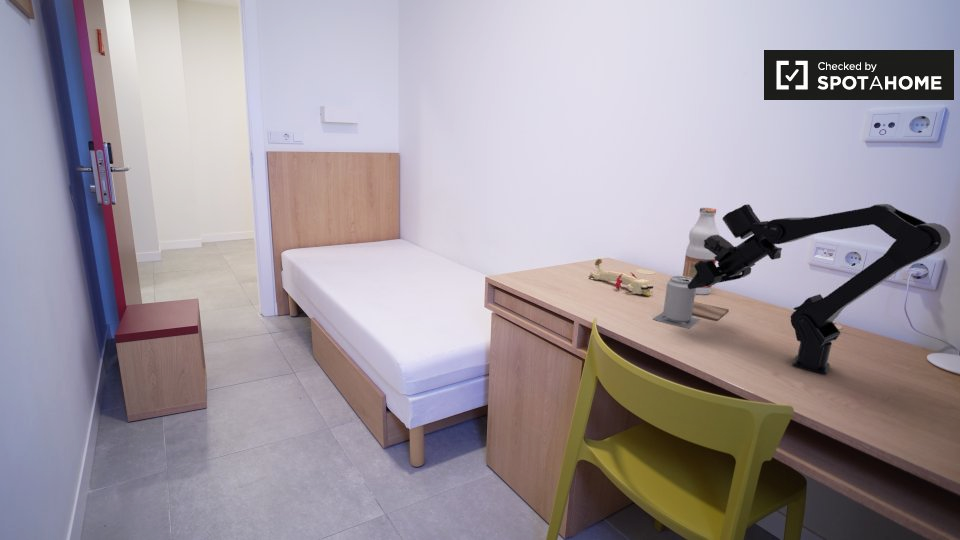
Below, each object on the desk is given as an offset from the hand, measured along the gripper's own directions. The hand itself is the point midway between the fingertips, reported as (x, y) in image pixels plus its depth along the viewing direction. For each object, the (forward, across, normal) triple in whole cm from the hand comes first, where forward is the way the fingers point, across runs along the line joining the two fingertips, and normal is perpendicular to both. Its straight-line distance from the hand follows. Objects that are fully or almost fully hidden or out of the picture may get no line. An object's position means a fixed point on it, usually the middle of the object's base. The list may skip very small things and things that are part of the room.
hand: (698, 285), depth 132 cm
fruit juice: (+21, -32, -5) cm, 38 cm away
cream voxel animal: (+33, -12, -16) cm, 38 cm away
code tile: (+11, 0, +5) cm, 12 cm away
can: (+12, 0, +5) cm, 12 cm away
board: (+12, -13, +4) cm, 18 cm away
